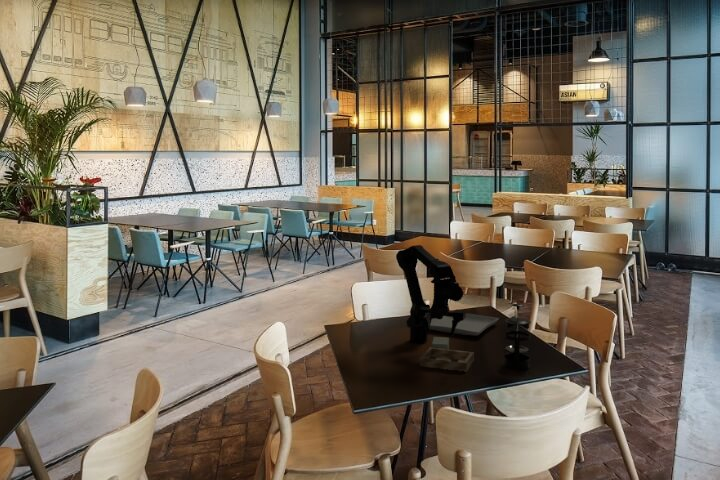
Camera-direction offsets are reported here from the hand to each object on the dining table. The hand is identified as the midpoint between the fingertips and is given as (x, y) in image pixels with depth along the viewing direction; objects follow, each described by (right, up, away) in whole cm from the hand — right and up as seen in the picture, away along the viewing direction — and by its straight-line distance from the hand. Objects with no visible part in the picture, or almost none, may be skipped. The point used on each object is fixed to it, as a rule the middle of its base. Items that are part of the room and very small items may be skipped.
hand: (440, 334), depth 232 cm
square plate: (+14, -3, +34) cm, 37 cm away
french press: (+26, -9, -16) cm, 31 cm away
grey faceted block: (0, -7, +1) cm, 7 cm away
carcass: (+1, -8, -13) cm, 16 cm away
